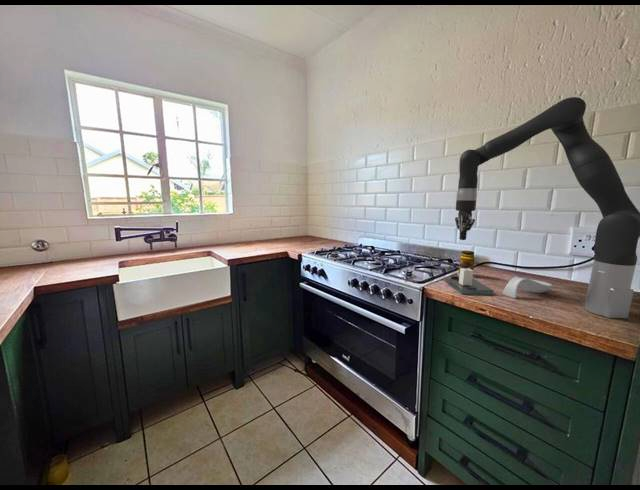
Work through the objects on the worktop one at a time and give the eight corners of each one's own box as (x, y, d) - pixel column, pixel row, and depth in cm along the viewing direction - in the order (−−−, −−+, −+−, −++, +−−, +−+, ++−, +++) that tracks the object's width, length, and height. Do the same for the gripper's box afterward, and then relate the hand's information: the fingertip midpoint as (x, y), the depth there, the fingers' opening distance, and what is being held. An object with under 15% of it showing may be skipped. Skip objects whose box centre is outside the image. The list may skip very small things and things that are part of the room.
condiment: (458, 276, 130) (461, 252, 127) (456, 272, 137) (458, 248, 135) (475, 278, 127) (478, 253, 125) (472, 273, 135) (475, 250, 133)
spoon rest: (523, 284, 119) (526, 268, 118) (556, 292, 109) (559, 275, 108) (493, 293, 108) (495, 275, 107) (526, 303, 98) (529, 284, 97)
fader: (471, 285, 109) (473, 270, 108) (462, 285, 109) (464, 270, 108) (467, 282, 112) (469, 268, 111) (458, 282, 112) (460, 268, 111)
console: (492, 295, 105) (493, 288, 104) (461, 294, 105) (462, 287, 105) (471, 282, 121) (472, 276, 120) (444, 281, 121) (445, 275, 121)
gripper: (484, 199, 108) (479, 242, 111) (467, 199, 121) (463, 237, 124) (465, 199, 108) (461, 242, 111) (450, 199, 121) (447, 237, 124)
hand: (462, 239), depth 118 cm, fingers closed
